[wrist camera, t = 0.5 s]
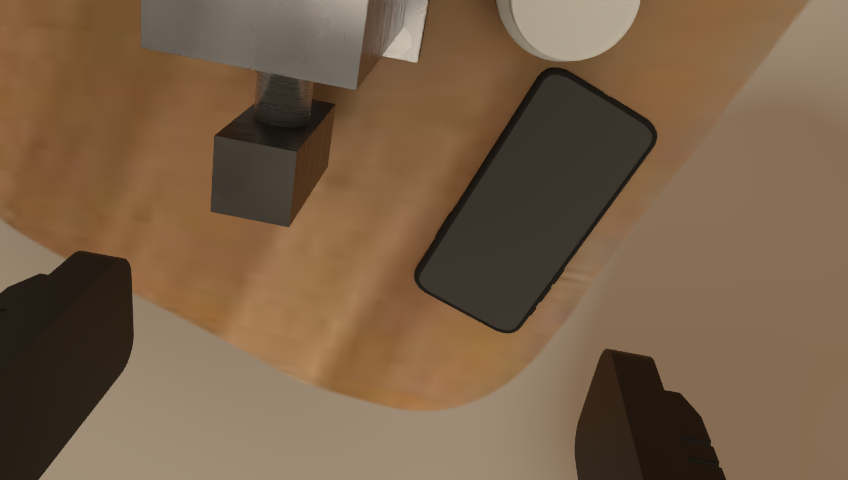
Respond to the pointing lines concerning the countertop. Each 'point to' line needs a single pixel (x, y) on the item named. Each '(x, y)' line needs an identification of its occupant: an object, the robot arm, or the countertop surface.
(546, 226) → the smartphone
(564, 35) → the pill bottle
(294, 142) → the shaft
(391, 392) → the countertop surface
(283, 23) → the bearing bracket
